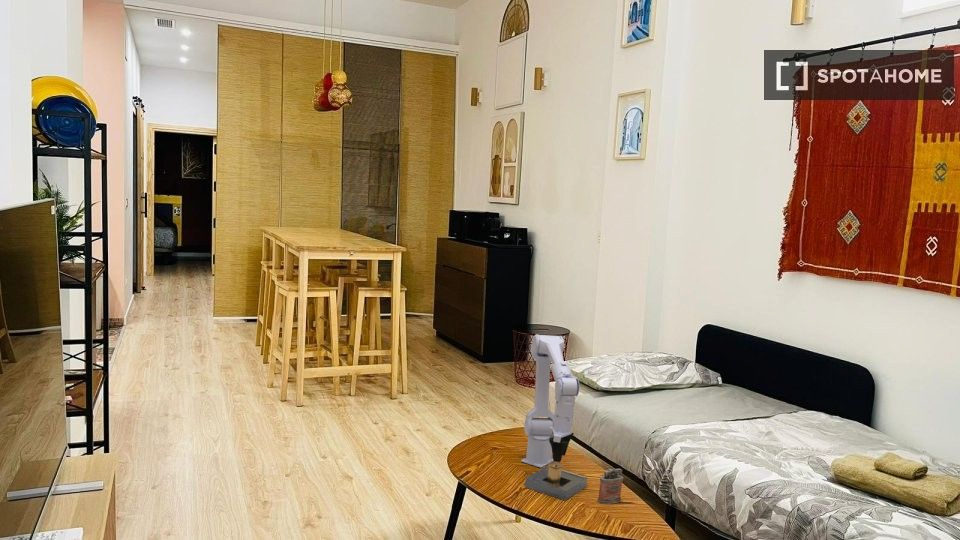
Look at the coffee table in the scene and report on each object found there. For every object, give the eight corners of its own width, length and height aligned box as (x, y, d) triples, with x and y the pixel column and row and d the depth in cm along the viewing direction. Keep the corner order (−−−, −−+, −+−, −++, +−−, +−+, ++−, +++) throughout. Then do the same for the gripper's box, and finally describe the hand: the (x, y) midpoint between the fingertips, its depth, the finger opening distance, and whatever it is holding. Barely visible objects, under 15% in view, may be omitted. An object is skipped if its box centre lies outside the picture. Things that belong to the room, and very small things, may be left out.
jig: (547, 474, 241) (548, 464, 241) (586, 486, 233) (587, 476, 233) (524, 487, 228) (525, 476, 228) (565, 500, 221) (566, 490, 221)
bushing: (547, 485, 232) (550, 460, 231) (561, 488, 230) (563, 463, 229) (544, 490, 227) (547, 465, 227) (558, 493, 226) (560, 468, 225)
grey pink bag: (601, 504, 221) (605, 472, 219) (595, 500, 223) (598, 468, 222) (622, 501, 224) (626, 470, 223) (616, 497, 227) (619, 466, 226)
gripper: (556, 407, 234) (552, 448, 236) (545, 419, 221) (541, 462, 222) (578, 411, 232) (573, 453, 234) (568, 423, 218) (563, 467, 220)
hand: (559, 458), depth 228 cm, fingers open, 6 cm apart
